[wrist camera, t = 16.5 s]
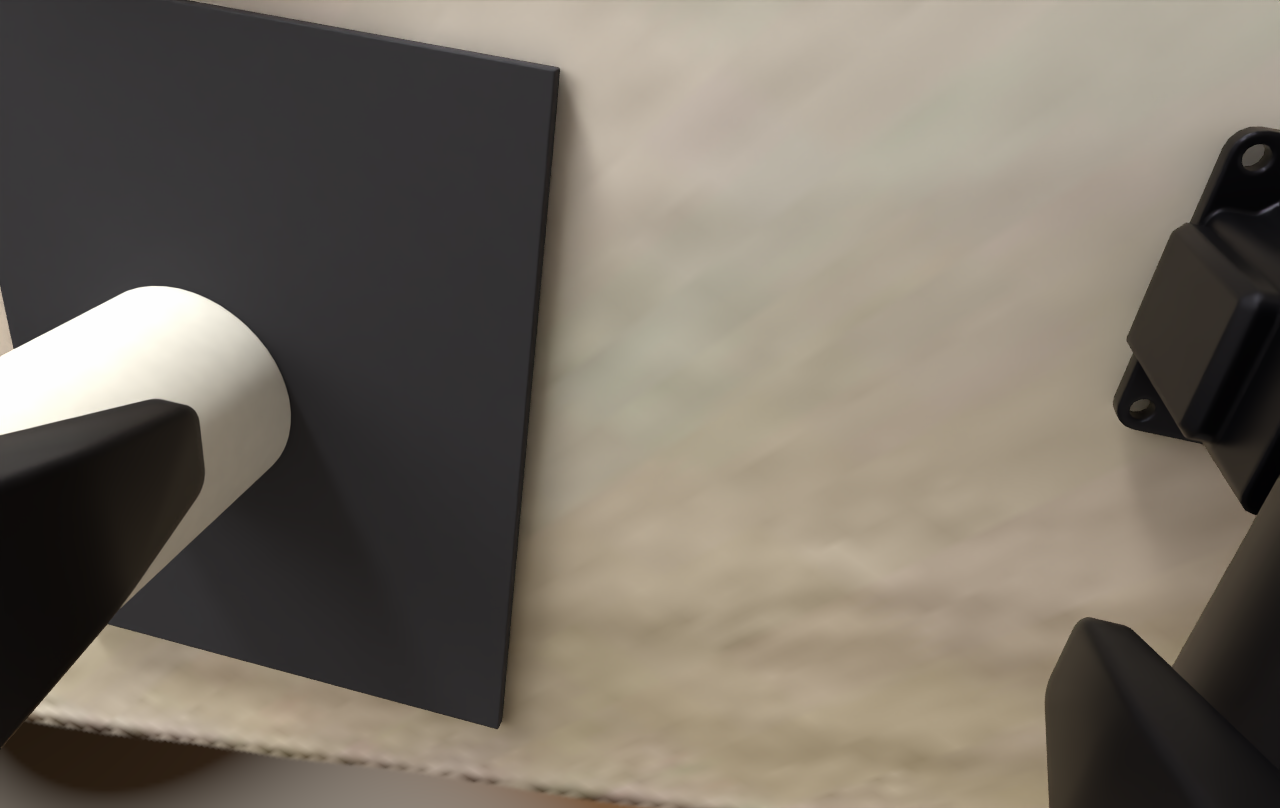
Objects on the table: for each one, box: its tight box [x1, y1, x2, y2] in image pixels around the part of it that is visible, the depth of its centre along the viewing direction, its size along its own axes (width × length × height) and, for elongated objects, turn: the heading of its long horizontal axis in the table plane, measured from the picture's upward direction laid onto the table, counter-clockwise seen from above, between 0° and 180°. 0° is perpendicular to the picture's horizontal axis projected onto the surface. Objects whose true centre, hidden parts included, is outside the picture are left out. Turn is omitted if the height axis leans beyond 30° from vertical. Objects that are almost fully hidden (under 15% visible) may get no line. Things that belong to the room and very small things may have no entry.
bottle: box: [0, 286, 291, 607], centre depth 20 cm, size 6×6×12 cm
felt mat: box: [0, 0, 560, 729], centre depth 26 cm, size 15×20×1 cm
